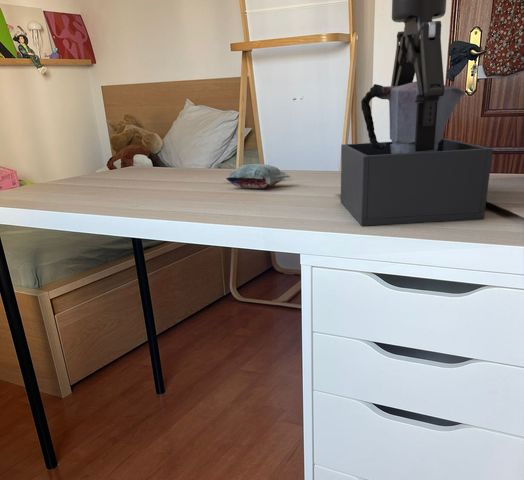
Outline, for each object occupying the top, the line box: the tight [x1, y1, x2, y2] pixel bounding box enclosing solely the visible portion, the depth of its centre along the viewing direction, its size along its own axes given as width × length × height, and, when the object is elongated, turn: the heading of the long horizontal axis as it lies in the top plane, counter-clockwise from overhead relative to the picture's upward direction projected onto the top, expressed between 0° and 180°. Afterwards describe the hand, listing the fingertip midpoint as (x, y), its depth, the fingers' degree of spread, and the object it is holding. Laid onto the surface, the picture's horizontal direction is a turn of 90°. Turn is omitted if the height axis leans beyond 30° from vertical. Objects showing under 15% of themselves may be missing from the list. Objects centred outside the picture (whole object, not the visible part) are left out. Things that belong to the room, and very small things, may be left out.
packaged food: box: [225, 163, 291, 189], centre depth 117 cm, size 9×12×5 cm
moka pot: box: [360, 80, 466, 154], centre depth 84 cm, size 10×15×20 cm, turn 80°
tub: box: [340, 138, 494, 227], centre depth 86 cm, size 19×20×10 cm
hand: (411, 146), depth 84 cm, fingers open, 13 cm apart
